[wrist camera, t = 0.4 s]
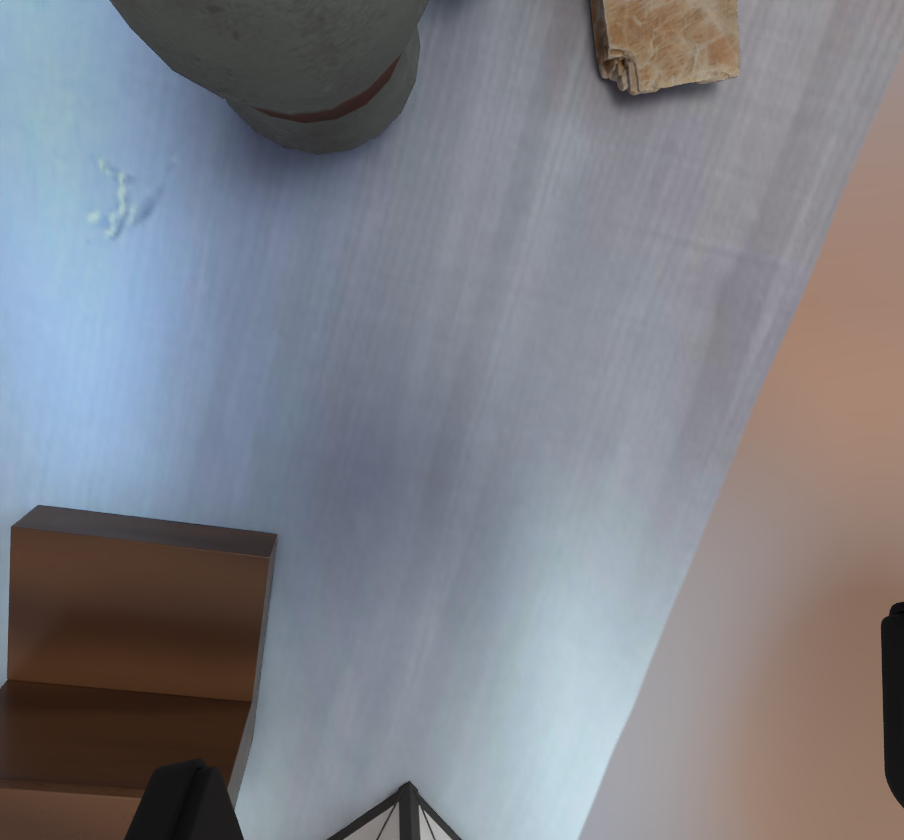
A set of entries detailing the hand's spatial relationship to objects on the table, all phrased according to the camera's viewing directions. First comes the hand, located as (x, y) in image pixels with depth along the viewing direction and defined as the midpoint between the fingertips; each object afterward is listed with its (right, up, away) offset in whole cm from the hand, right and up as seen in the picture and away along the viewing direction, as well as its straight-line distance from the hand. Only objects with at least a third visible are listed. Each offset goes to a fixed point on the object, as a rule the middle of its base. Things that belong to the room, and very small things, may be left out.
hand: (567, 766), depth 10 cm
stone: (+9, +26, +26) cm, 37 cm away
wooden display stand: (-19, -8, +32) cm, 38 cm away
